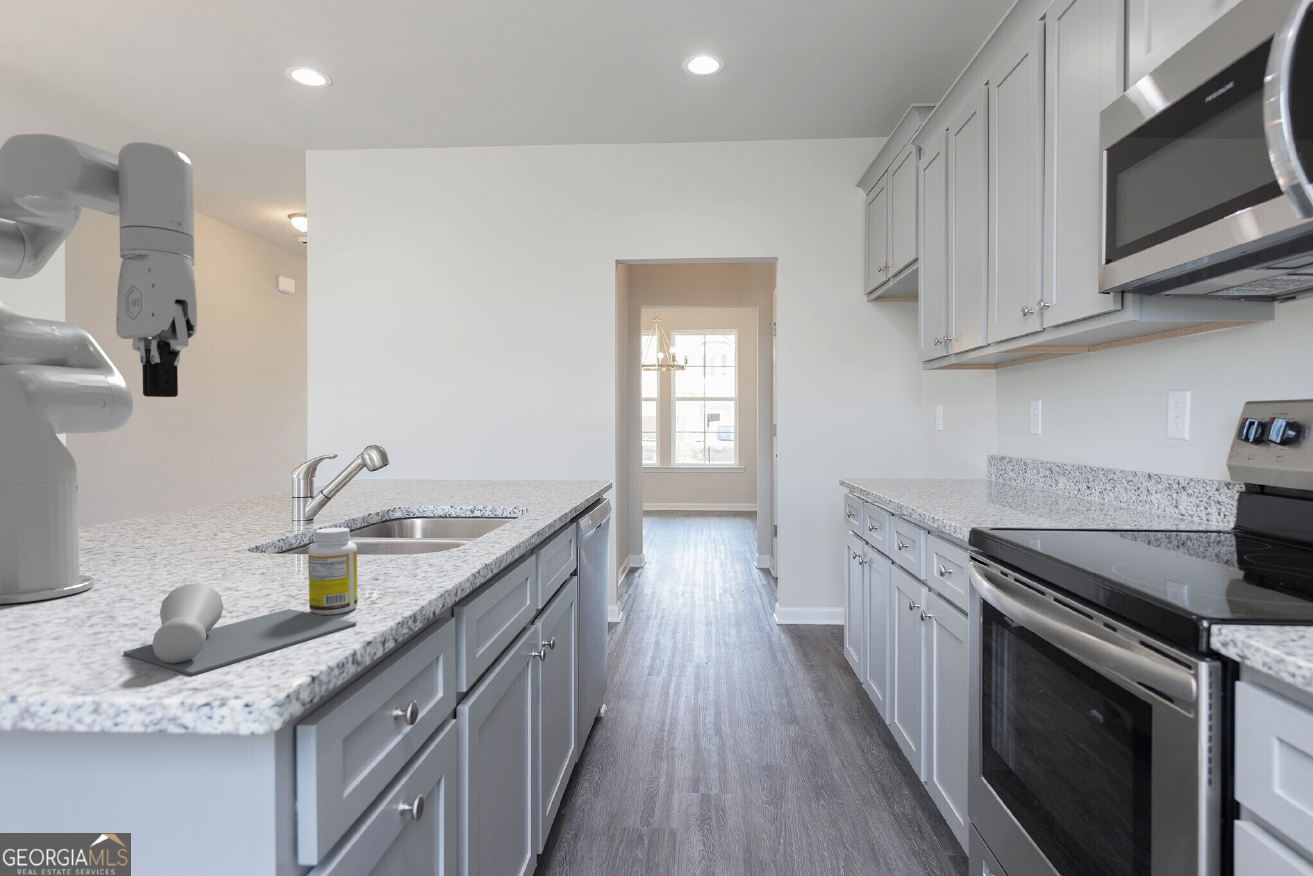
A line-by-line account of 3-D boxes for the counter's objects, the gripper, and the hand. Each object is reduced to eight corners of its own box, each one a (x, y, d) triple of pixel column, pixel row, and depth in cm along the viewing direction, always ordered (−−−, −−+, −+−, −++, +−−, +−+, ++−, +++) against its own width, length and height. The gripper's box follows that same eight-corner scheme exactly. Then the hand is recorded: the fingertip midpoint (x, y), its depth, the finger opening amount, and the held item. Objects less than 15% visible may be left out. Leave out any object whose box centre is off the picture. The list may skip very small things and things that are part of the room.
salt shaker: (199, 637, 78) (182, 685, 67) (151, 610, 76) (124, 656, 64) (237, 594, 80) (226, 635, 68) (190, 567, 77) (171, 604, 66)
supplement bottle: (334, 602, 91) (333, 525, 90) (367, 606, 88) (366, 527, 88) (298, 613, 85) (297, 531, 85) (332, 618, 83) (331, 534, 83)
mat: (123, 654, 71) (123, 651, 71) (289, 611, 86) (289, 608, 86) (192, 675, 65) (192, 672, 65) (356, 625, 80) (356, 622, 80)
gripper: (92, 249, 86) (95, 396, 87) (156, 235, 79) (159, 394, 80) (159, 262, 93) (161, 398, 93) (223, 249, 86) (226, 396, 86)
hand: (160, 396), depth 86 cm, fingers closed
